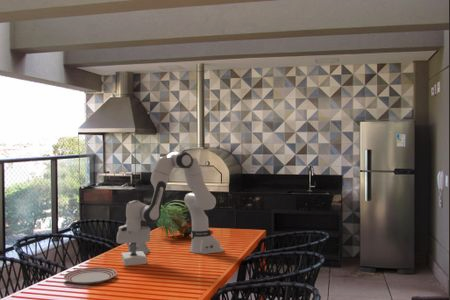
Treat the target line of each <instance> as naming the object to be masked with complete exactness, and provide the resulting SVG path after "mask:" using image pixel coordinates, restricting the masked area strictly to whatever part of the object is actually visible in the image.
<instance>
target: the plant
mask: <svg viewBox="0 0 450 300" xmlns="http://www.w3.org/2000/svg"><path fill="white" fill-rule="evenodd" d="M175 201H176V202H175ZM181 202H182V203H184V200H180V199H179V200H178V199H174V200H172V203H171V202H170V201H168V202H166V203H165V204H164V205H163V204H162V205H161V217H160V219H159V220H158V221H157V222H156V226H157V227H158V229H159V228H160V229H161V231H162V232H164V233H165V238H167V237H168V236H169V235H173V237H176V235H177V234H179V235H180V236H182V237H183V238H185V239H186V238H188V237H190V236H191V230H192V221H190V218H188V219H187V216H188V214H184V213H185V212H190V211H189V209H188V207H187V206H186V205H185V204H182V203H181ZM177 205H180V207H179V206H177ZM185 218H186V219H185ZM187 221H188V222H187Z"/></svg>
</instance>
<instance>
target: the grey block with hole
mask: <svg viewBox="0 0 450 300" xmlns="http://www.w3.org/2000/svg"><path fill="white" fill-rule="evenodd" d="M147 257H148V256H146V254H144V253H143V251H137V252H136V256H131V252H129V251H125V252H121V260H122V263H123V266H125V267H126V266H136V265H137V266H138V265H147V261H148V260H147Z"/></svg>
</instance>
